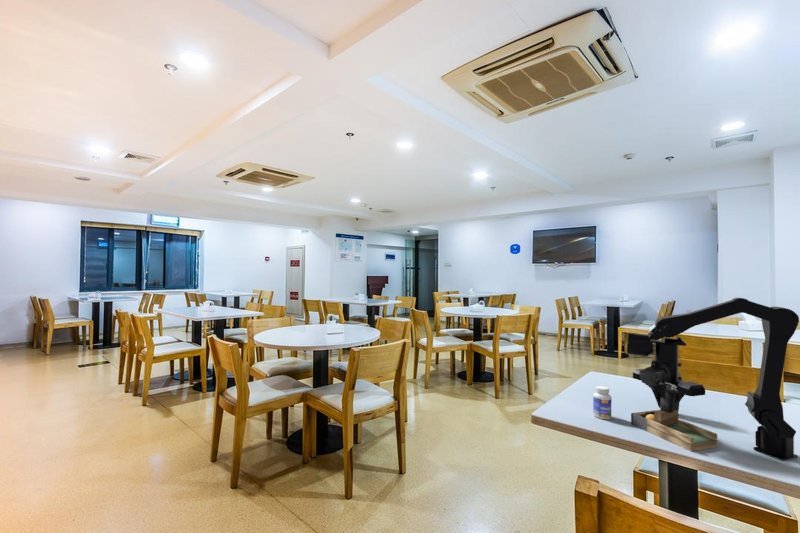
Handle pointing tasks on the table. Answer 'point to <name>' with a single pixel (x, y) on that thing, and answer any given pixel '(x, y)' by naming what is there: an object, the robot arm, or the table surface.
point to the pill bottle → (602, 403)
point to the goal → (640, 419)
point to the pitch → (684, 435)
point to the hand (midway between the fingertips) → (666, 409)
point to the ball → (650, 417)
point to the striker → (665, 413)
